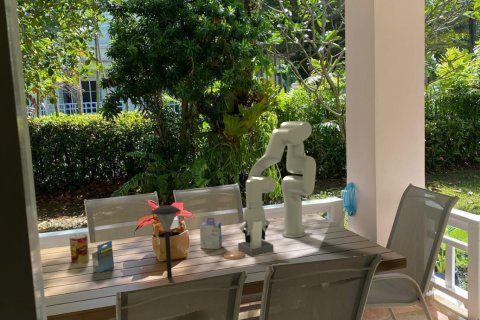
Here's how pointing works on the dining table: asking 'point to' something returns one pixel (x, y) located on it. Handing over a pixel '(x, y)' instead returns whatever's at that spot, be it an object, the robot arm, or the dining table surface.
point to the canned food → (79, 248)
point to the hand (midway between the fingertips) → (255, 240)
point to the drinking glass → (256, 235)
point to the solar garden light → (166, 229)
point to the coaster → (234, 255)
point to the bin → (264, 248)
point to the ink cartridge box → (210, 234)
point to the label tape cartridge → (103, 257)
